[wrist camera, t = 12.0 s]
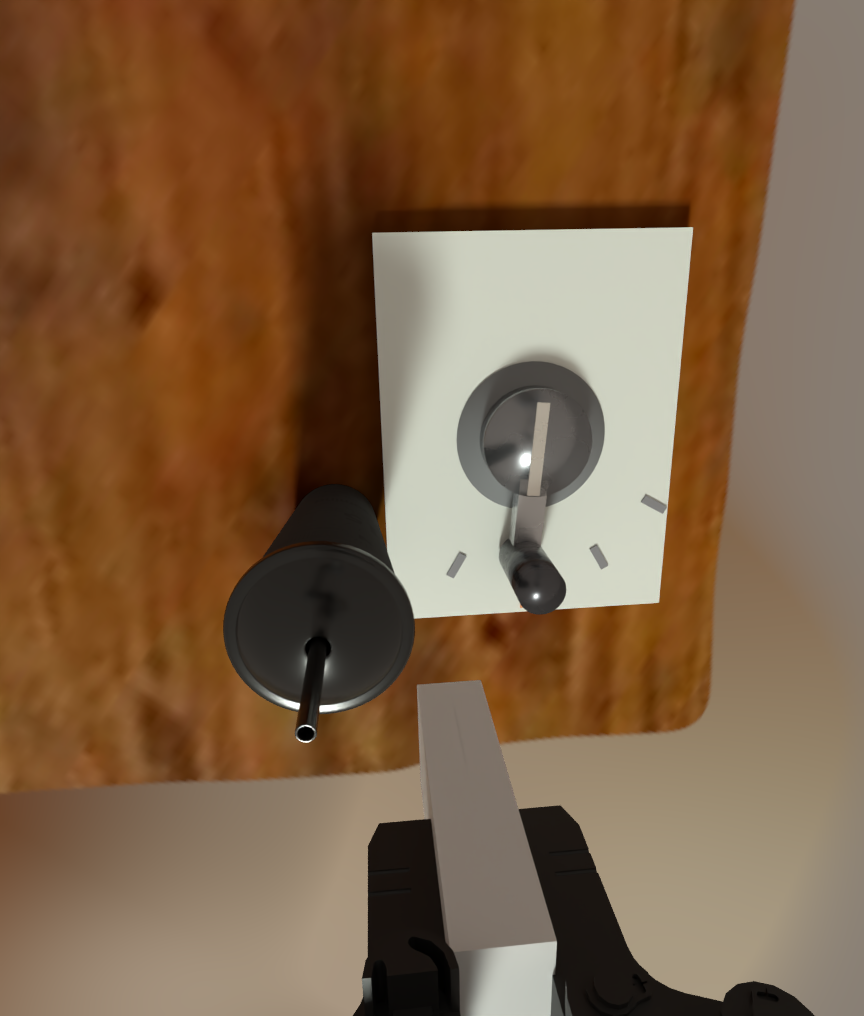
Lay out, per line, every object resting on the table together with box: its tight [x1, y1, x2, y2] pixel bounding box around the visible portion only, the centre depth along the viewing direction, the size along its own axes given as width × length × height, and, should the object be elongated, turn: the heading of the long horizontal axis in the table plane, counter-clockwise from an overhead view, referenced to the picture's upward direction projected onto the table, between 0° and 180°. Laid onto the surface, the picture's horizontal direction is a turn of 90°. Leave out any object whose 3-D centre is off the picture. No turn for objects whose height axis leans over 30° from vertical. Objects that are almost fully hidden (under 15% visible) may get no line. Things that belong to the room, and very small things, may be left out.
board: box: [372, 227, 693, 618], centre depth 38 cm, size 22×17×1 cm
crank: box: [480, 385, 592, 614], centre depth 35 cm, size 11×6×6 cm, turn 176°
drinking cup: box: [223, 484, 415, 742], centre depth 30 cm, size 8×8×20 cm
